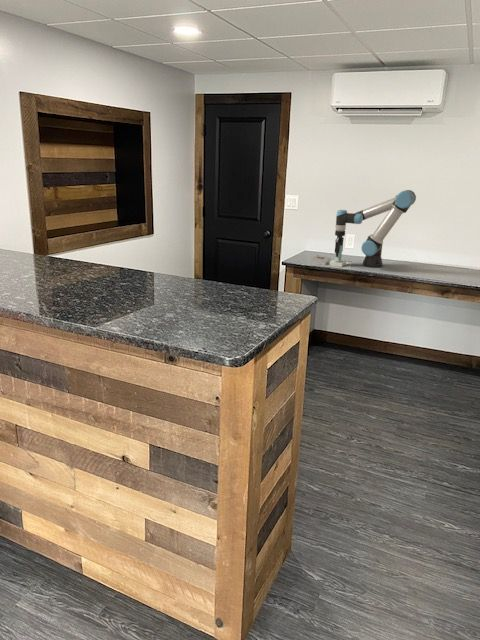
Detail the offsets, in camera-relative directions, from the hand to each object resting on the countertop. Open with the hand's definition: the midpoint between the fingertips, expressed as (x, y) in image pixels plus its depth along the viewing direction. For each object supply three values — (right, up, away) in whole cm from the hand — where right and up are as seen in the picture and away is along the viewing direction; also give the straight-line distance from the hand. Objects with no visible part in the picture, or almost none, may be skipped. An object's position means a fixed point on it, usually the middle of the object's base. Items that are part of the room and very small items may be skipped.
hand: (337, 260), depth 396 cm
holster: (0, -4, +1) cm, 4 cm away
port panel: (-12, -1, +7) cm, 14 cm away
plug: (0, -4, +1) cm, 4 cm away
